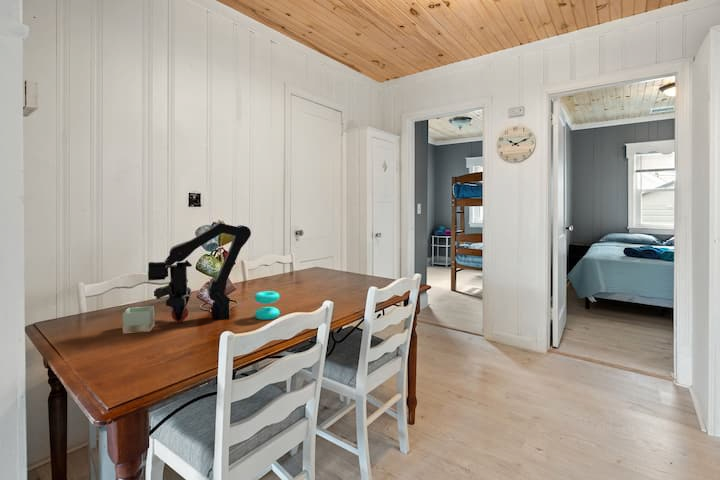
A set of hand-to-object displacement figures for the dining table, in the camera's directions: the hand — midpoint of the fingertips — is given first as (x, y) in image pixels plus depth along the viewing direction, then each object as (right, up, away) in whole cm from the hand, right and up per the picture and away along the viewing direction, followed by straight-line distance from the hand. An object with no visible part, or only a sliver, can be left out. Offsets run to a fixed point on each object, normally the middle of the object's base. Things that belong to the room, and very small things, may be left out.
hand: (179, 317), depth 145 cm
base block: (-11, -3, -7) cm, 14 cm away
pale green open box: (-11, 0, -8) cm, 14 cm away
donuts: (+32, -2, +9) cm, 33 cm away
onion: (0, -2, 0) cm, 2 cm away
